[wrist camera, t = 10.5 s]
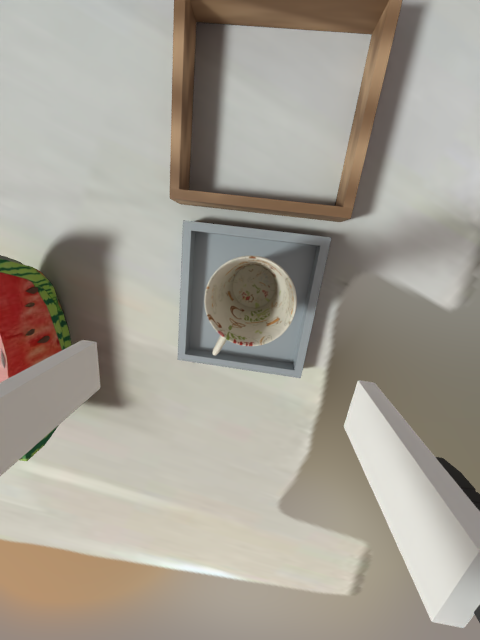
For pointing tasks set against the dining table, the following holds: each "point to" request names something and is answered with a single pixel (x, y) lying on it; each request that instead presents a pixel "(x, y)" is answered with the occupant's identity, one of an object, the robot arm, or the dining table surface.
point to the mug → (250, 301)
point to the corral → (295, 13)
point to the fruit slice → (28, 323)
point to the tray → (231, 242)
